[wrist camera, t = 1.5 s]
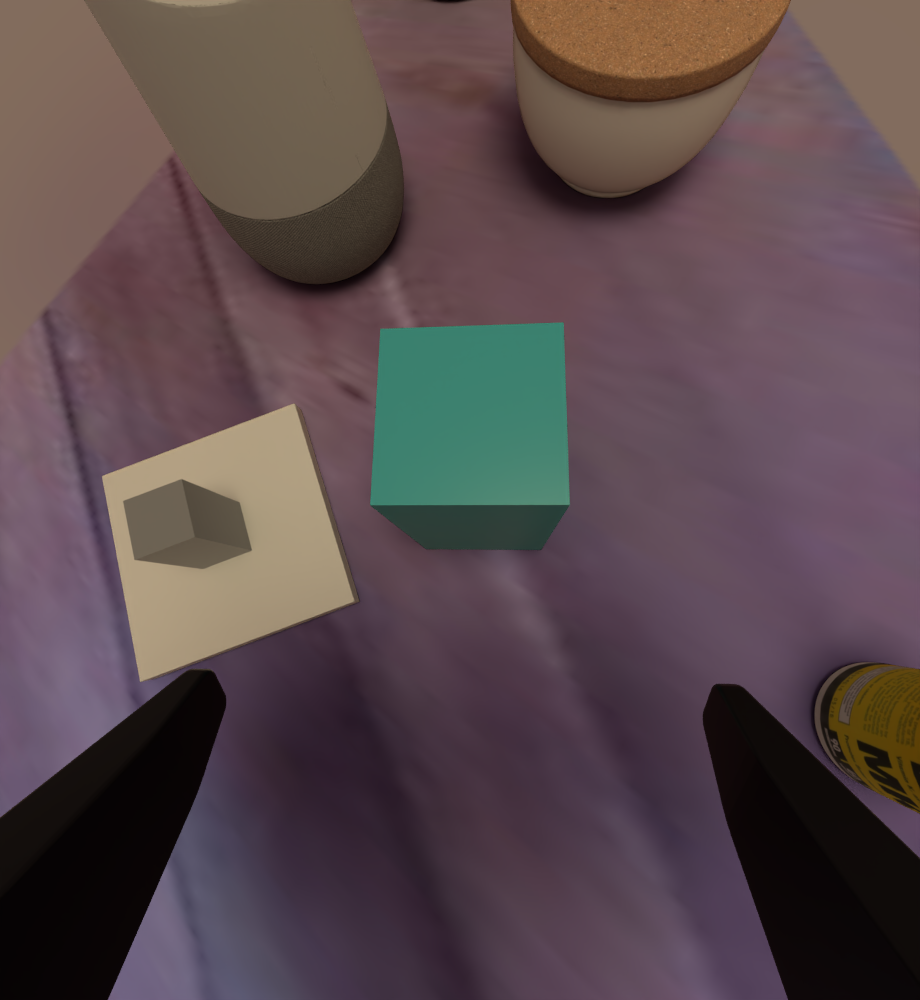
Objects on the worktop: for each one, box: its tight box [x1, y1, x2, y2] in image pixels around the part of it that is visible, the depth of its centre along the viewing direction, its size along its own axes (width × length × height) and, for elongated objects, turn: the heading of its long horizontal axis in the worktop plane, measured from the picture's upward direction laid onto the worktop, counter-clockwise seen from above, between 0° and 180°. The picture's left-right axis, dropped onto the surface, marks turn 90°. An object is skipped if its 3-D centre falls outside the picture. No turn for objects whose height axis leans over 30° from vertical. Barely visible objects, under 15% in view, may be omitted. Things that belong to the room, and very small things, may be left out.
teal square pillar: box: [370, 323, 570, 550], centre depth 18 cm, size 5×5×10 cm
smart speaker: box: [84, 0, 404, 284], centre depth 20 cm, size 10×9×14 cm
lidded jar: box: [511, 0, 791, 198], centre depth 22 cm, size 11×11×9 cm
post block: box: [102, 404, 360, 682], centre depth 21 cm, size 10×10×5 cm
